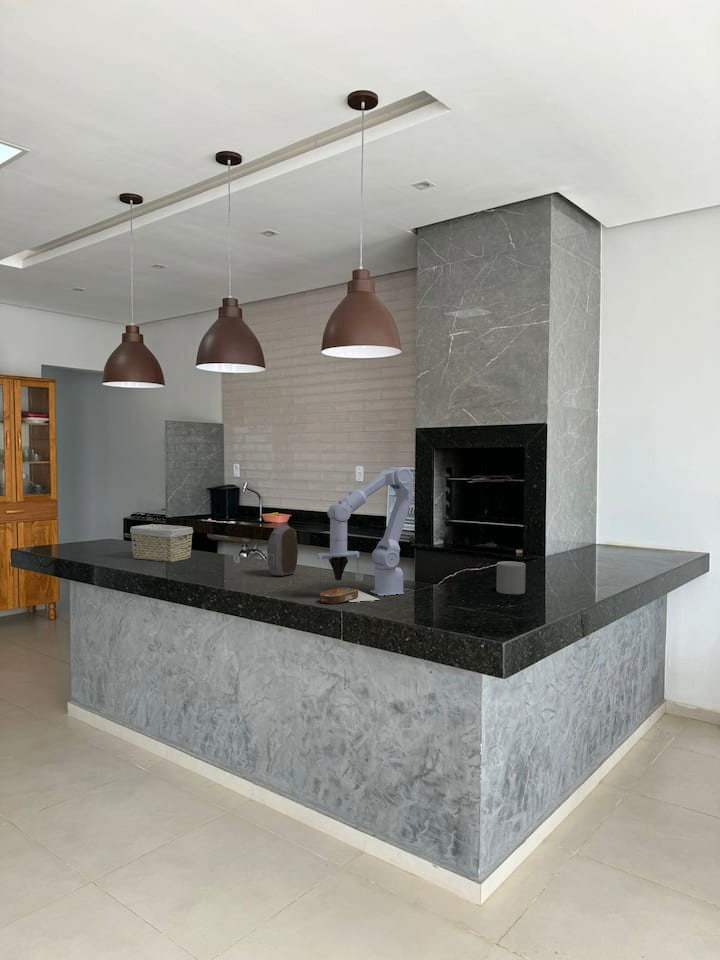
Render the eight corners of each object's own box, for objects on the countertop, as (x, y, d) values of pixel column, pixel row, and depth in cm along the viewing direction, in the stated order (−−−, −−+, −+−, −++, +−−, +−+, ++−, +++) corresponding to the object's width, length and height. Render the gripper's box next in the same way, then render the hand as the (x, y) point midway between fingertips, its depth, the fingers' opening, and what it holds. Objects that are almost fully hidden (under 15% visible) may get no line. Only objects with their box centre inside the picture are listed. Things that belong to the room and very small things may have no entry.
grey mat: (354, 589, 250) (354, 588, 250) (379, 600, 231) (380, 599, 231) (327, 591, 245) (327, 590, 245) (350, 603, 227) (350, 601, 227)
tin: (344, 586, 239) (363, 586, 234) (345, 595, 240) (364, 596, 234) (314, 594, 228) (333, 595, 223) (314, 603, 228) (334, 605, 223)
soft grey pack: (278, 578, 270) (278, 526, 270) (260, 576, 274) (261, 525, 274) (300, 573, 283) (301, 523, 283) (283, 571, 287) (284, 522, 287)
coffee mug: (518, 595, 243) (519, 566, 243) (491, 592, 249) (492, 563, 249) (532, 589, 255) (533, 562, 254) (506, 586, 260) (507, 559, 260)
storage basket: (194, 558, 320) (195, 526, 320) (171, 563, 306) (171, 529, 305) (152, 555, 330) (152, 523, 330) (128, 559, 315) (128, 526, 315)
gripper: (353, 537, 242) (352, 576, 242) (313, 538, 236) (313, 579, 236) (362, 539, 236) (361, 579, 236) (321, 541, 229) (321, 582, 230)
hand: (338, 579), depth 236 cm, fingers closed
